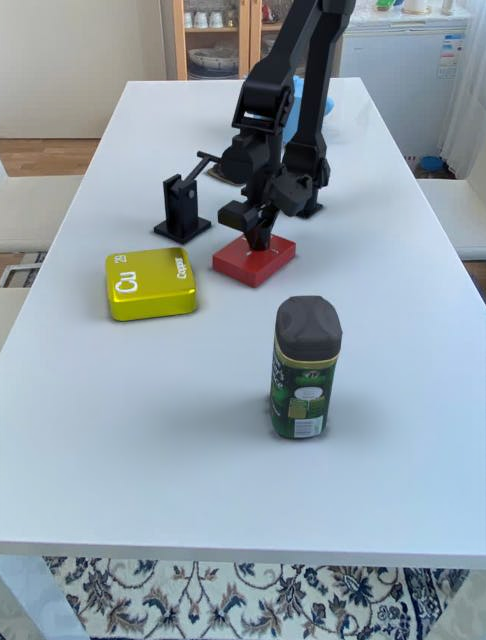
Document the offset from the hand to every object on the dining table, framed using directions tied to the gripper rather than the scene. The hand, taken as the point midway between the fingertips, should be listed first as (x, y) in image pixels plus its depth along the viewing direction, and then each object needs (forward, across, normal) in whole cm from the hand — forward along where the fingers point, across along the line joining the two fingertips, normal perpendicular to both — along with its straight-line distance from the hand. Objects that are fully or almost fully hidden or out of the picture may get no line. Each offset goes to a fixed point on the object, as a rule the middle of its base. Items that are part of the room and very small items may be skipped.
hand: (259, 242), depth 105 cm
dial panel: (+4, -2, 0) cm, 4 cm away
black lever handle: (-5, +4, +19) cm, 20 cm away
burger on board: (+4, +26, +25) cm, 37 cm away
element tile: (+4, -20, +10) cm, 23 cm away
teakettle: (+4, +50, +27) cm, 57 cm away
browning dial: (+1, 0, 0) cm, 1 cm away
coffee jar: (+4, -30, -27) cm, 41 cm away
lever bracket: (+4, 0, +19) cm, 19 cm away
